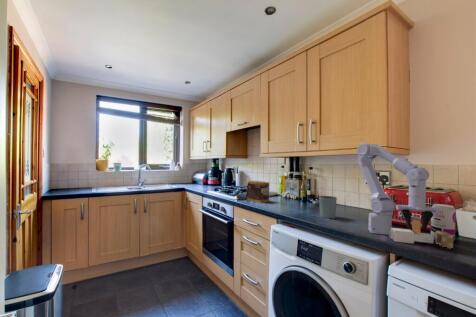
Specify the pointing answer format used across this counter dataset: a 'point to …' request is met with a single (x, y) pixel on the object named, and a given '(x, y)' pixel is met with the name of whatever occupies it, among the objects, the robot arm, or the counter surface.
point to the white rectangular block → (403, 235)
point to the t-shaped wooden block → (417, 233)
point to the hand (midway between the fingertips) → (416, 228)
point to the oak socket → (444, 239)
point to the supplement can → (443, 220)
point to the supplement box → (258, 191)
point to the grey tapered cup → (327, 206)
